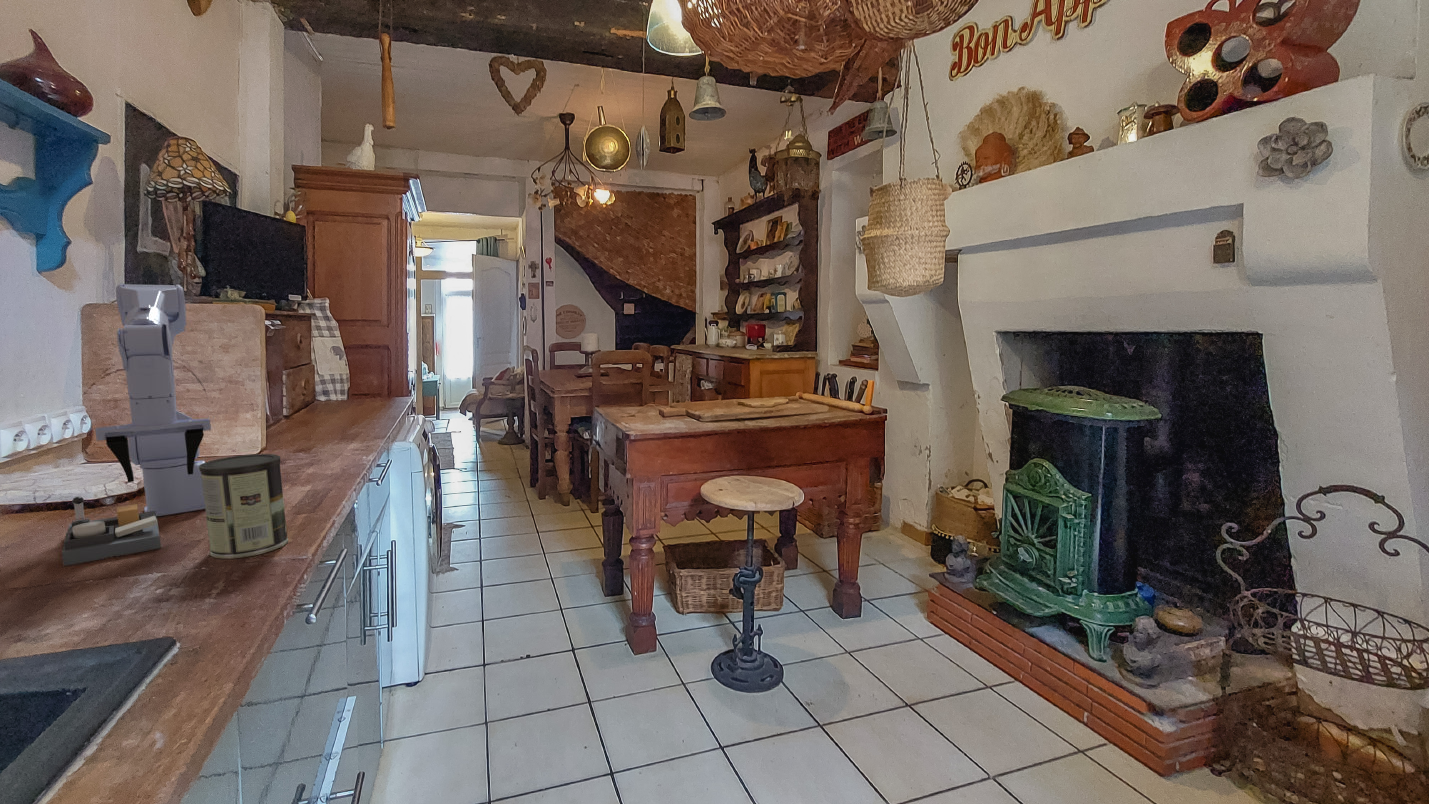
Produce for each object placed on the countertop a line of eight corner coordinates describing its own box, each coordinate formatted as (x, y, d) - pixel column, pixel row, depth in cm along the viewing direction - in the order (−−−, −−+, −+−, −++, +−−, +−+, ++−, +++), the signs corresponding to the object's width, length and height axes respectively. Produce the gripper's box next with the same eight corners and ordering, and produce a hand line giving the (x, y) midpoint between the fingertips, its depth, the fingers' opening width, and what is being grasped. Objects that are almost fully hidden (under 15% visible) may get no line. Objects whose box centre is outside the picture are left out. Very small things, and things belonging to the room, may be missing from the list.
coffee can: (258, 533, 110) (250, 451, 108) (303, 540, 107) (295, 456, 105) (192, 554, 100) (182, 465, 98) (239, 562, 97) (230, 470, 95)
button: (106, 529, 103) (104, 519, 103) (105, 534, 100) (104, 525, 100) (74, 534, 101) (73, 524, 100) (72, 540, 98) (71, 530, 98)
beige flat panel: (156, 519, 107) (154, 515, 107) (157, 524, 105) (155, 519, 104) (117, 532, 104) (115, 528, 103) (117, 537, 101) (115, 532, 101)
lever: (86, 518, 109) (83, 496, 109) (85, 517, 108) (83, 495, 108) (74, 520, 108) (72, 498, 108) (73, 519, 107) (71, 497, 107)
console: (156, 521, 116) (154, 503, 116) (161, 548, 103) (158, 527, 103) (70, 535, 109) (68, 516, 109) (63, 566, 96) (60, 544, 95)
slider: (139, 521, 110) (137, 503, 110) (139, 526, 107) (137, 509, 107) (119, 524, 109) (117, 506, 108) (119, 530, 106) (116, 512, 105)
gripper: (90, 403, 101) (101, 488, 102) (208, 395, 110) (216, 474, 112) (93, 399, 106) (103, 481, 108) (205, 392, 115) (213, 467, 117)
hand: (161, 477), depth 110 cm, fingers open, 7 cm apart
